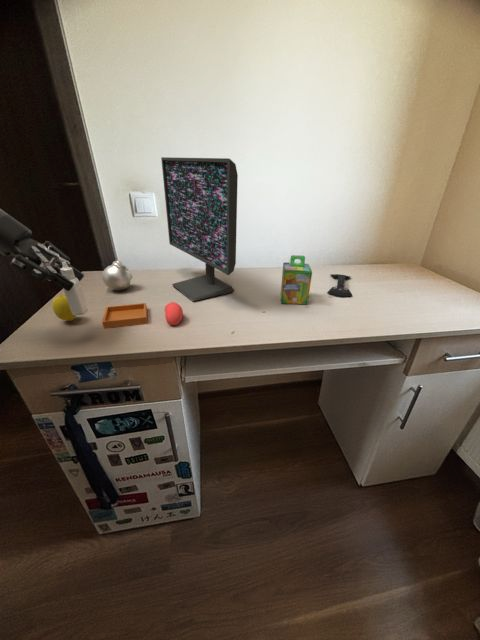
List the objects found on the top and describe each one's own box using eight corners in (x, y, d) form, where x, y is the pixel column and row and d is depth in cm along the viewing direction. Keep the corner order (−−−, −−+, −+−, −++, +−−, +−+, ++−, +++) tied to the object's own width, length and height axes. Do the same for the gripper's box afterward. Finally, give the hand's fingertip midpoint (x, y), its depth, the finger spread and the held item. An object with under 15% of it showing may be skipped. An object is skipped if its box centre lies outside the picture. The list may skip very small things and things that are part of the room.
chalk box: (280, 304, 95) (284, 259, 87) (280, 293, 103) (283, 252, 94) (308, 305, 95) (314, 261, 87) (305, 294, 102) (310, 253, 94)
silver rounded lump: (136, 292, 99) (129, 263, 93) (106, 295, 95) (97, 266, 90) (133, 283, 106) (127, 256, 100) (106, 286, 102) (98, 259, 97)
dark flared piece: (351, 277, 121) (352, 269, 120) (352, 298, 101) (354, 289, 99) (329, 274, 123) (331, 267, 121) (326, 295, 103) (328, 286, 101)
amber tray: (104, 328, 77) (102, 322, 76) (107, 312, 85) (105, 306, 84) (147, 323, 80) (146, 317, 79) (147, 308, 88) (145, 302, 87)
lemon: (71, 326, 77) (61, 299, 73) (54, 324, 78) (42, 297, 73) (85, 318, 82) (76, 291, 77) (68, 315, 82) (59, 289, 78)
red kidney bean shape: (188, 318, 87) (179, 298, 85) (184, 321, 78) (174, 299, 77) (173, 324, 87) (163, 305, 85) (167, 328, 78) (157, 307, 76)
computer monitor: (159, 276, 113) (139, 156, 91) (196, 270, 122) (185, 158, 100) (212, 317, 85) (201, 156, 63) (255, 305, 93) (259, 160, 71)
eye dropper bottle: (95, 307, 72) (81, 260, 65) (81, 317, 67) (64, 266, 61) (79, 306, 72) (63, 258, 66) (64, 315, 68) (45, 265, 61)
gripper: (-20, 219, 51) (74, 282, 59) (23, 209, 63) (96, 263, 71) (-38, 249, 53) (55, 306, 61) (6, 234, 65) (79, 283, 73)
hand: (76, 282), depth 66 cm, fingers closed on eye dropper bottle, 5 cm apart
